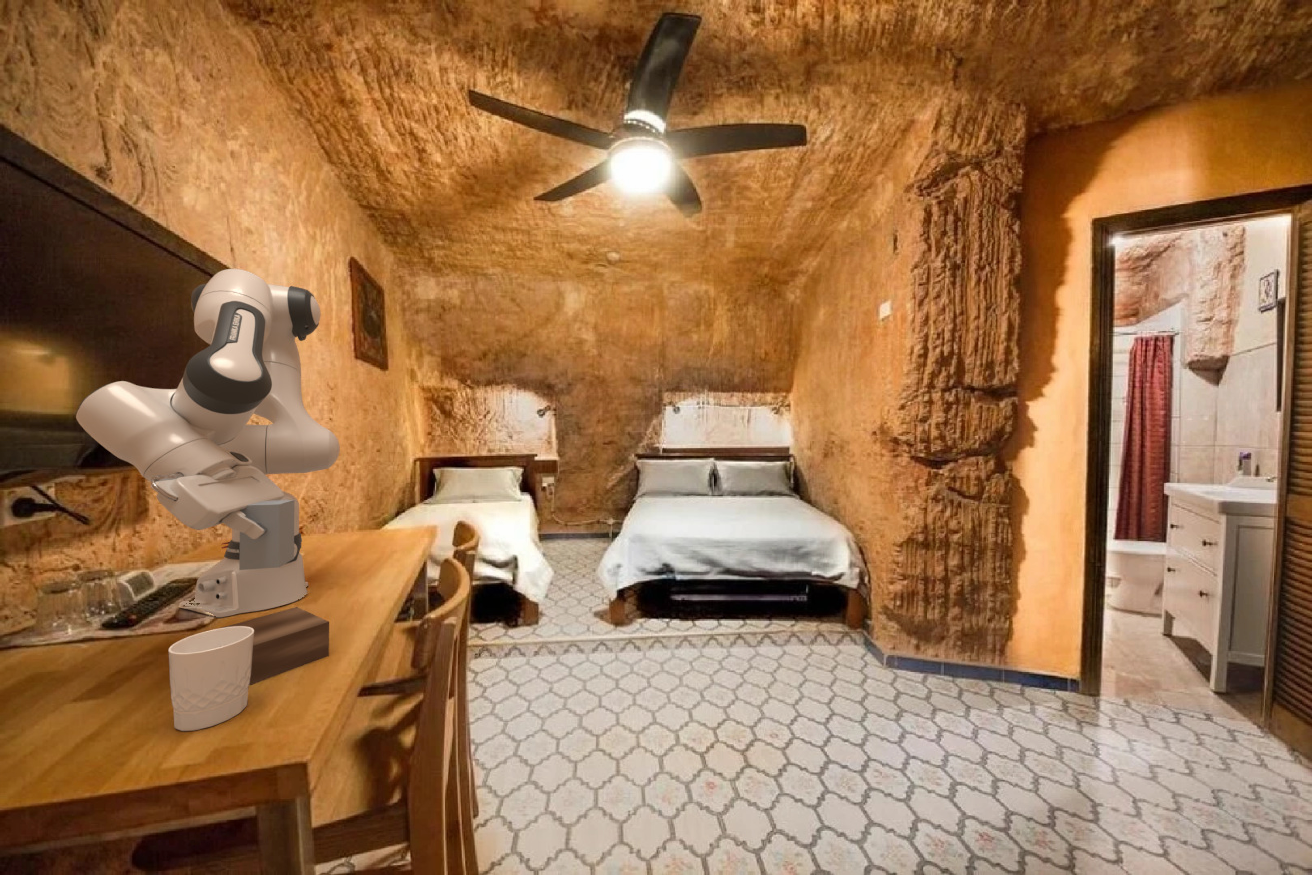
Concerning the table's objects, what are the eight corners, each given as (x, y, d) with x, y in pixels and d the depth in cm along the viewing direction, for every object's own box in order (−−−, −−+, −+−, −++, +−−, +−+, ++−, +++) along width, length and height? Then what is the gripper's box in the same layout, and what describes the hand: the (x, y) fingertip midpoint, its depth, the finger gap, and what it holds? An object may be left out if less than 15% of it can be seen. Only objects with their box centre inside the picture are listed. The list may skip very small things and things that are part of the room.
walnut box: (203, 670, 68) (204, 632, 68) (296, 639, 79) (296, 606, 79) (232, 693, 62) (233, 651, 62) (328, 657, 73) (329, 621, 73)
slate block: (239, 570, 67) (240, 505, 67) (257, 561, 72) (258, 500, 72) (278, 567, 69) (279, 504, 69) (293, 558, 74) (294, 499, 74)
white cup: (219, 694, 61) (220, 624, 62) (269, 699, 61) (270, 627, 61) (148, 732, 54) (149, 651, 54) (204, 737, 53) (205, 655, 53)
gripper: (164, 460, 58) (253, 529, 61) (251, 454, 78) (315, 506, 81) (119, 495, 57) (213, 563, 60) (219, 479, 76) (286, 532, 79)
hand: (272, 530), depth 71 cm, fingers closed on slate block, 5 cm apart
